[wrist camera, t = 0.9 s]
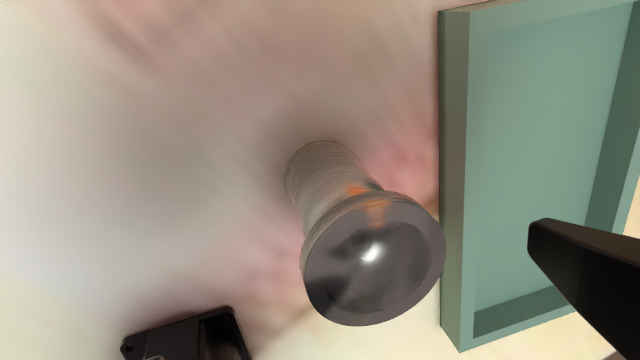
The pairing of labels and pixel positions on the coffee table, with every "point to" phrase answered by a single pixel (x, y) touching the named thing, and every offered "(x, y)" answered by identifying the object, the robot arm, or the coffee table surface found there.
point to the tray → (529, 148)
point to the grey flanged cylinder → (360, 239)
